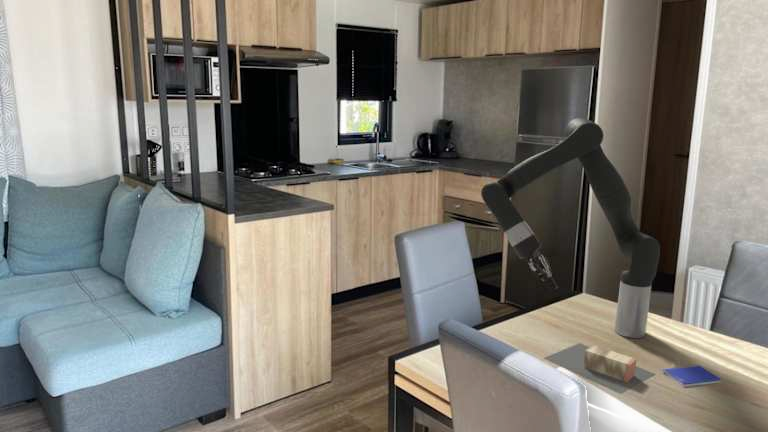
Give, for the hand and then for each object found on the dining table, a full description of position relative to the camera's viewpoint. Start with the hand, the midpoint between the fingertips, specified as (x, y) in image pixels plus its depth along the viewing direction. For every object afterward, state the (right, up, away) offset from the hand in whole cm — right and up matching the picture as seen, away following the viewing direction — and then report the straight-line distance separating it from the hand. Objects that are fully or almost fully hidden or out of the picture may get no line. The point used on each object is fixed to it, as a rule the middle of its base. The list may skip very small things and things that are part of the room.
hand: (554, 289), depth 167 cm
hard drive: (+34, -24, -11) cm, 43 cm away
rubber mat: (+10, -21, -7) cm, 25 cm away
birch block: (+8, -18, -7) cm, 21 cm away
